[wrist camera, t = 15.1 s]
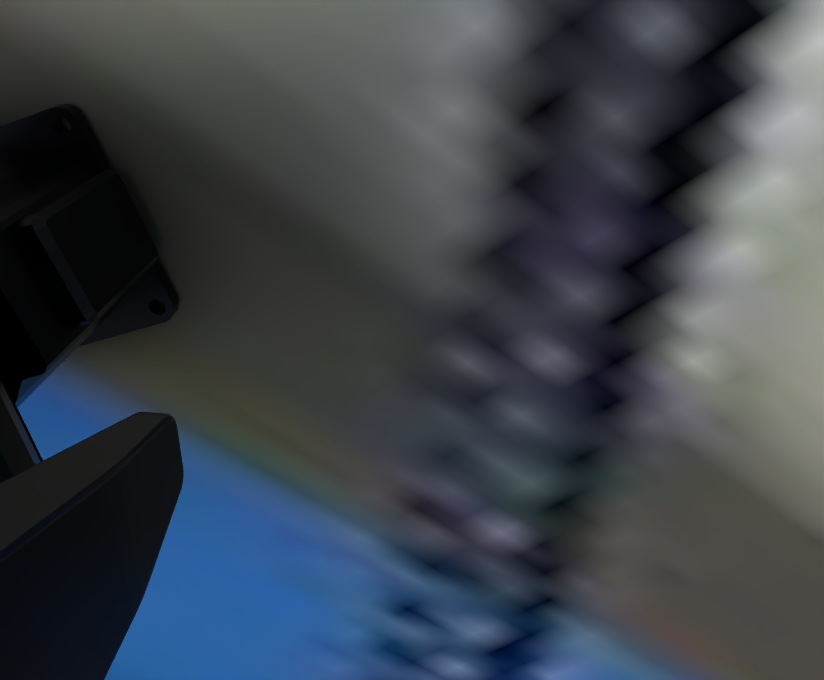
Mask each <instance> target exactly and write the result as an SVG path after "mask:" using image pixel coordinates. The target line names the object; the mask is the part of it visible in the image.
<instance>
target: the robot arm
mask: <svg viewBox="0 0 824 680" xmlns="http://www.w3.org/2000/svg"><path fill="white" fill-rule="evenodd" d="M60 117H63V118H65V119H67V120H68V122H69V123H70V126H71V131H70V132H67V131H65V130H64V129H63V128H62V126H61V124H60ZM157 256H158V251H157V249H156V247H155V245H154V243H153V241H152V239H151V237H150V235H149V233H148V231H147V229H146V227H145V225H144V223H143V221H142V219H141V217H140V215H139V213H138V211H137V210H136V208H135V206H134V204H133V202H132V200H131V198H130V196H129V194H128V192H127V190H126V188H125V186H124V184H123V182H122V180H121V178H120V176H119V175H118V174H117V173H115V172H113V171H112V169H111V167H110V165H109V164H108V162H107V160H106V158H105V156H104V154H103V152H102V150H101V148H100V146H99V144H98V142H97V140H96V138H95V136H94V134H93V132H92V130H91V128H90V126H89V125H88V123H87V121H86V119H85V117H84V115H83V114H82V113H81V111H80V110H78V109H77V108H76V107H74V106H72V105H69V104H61V105H57V106H55V107H52V108H49V109H47V110H44V111H41V112H39V113H36V114H33V115H31V116H28V117H25V118H22V119H20V120H17V121H14V122H12V123H9V124H6V125H4V126H1V127H0V680H104V679H105V677H106V675H107V673H108V670H109V668H110V666H111V664H112V662H113V660H114V658H115V656H116V654H117V652H118V650H119V648H120V646H121V644H122V641H123V639H124V637H125V635H126V633H127V631H128V629H129V627H130V625H131V623H132V621H133V619H134V617H135V614H136V612H137V610H138V608H139V605H140V603H141V601H142V599H143V596H144V594H145V591H146V588H147V586H148V583H149V580H150V578H151V575H152V572H153V569H154V566H155V563H156V560H157V557H158V555H159V552H160V549H161V546H162V543H163V540H164V537H165V534H166V532H167V529H168V526H169V523H170V520H171V517H172V514H173V511H174V509H175V506H176V503H177V500H178V497H179V494H180V491H181V488H182V483H183V464H182V457H181V450H180V443H179V436H178V430H177V424H176V422H175V419H174V418H173V417H172V416H171V415H170V414H163V413H151V412H138V413H135V414H133V415H131V416H129V417H127V418H126V419H124V420H122V421H120V422H118V423H116V424H114V425H112V426H110V427H108V428H106V429H104V430H102V431H100V432H98V433H96V434H94V435H92V436H91V437H89V438H87V439H85V440H83V441H81V442H79V443H77V444H75V445H73V446H71V447H69V448H67V449H65V450H63V451H61V452H59V453H57V454H56V455H54V456H52V457H50V458H48V459H46V460H44V461H43V459H42V457H41V455H40V453H39V451H38V449H37V447H36V445H35V443H34V441H33V439H32V437H31V435H30V433H29V431H28V429H27V427H26V425H25V423H24V421H23V419H22V417H21V415H20V413H19V411H18V409H17V407H18V406H19V405H20V404H21V403H22V402H23V401H24V400H25V399H26V398H27V397H28V396H29V395H30V394H31V393H32V392H33V391H34V390H35V389H36V388H37V387H38V386H39V385H40V384H41V383H42V382H43V381H44V380H45V379H46V378H47V377H48V376H49V375H50V374H51V373H52V372H53V371H54V370H55V369H56V368H57V367H58V366H59V365H60V364H61V363H62V362H63V361H64V360H65V359H66V358H67V357H68V356H69V355H70V354H71V353H72V352H73V351H74V350H75V349H76V348H77V347H78V346H81V345H85V344H88V343H92V342H95V341H99V340H103V339H106V338H110V337H113V336H117V335H120V334H124V333H127V332H131V331H134V330H138V329H142V328H145V327H149V326H152V325H156V324H159V323H163V322H166V321H168V320H169V319H171V317H172V316H173V315H174V314H175V312H176V311H177V310H178V305H179V302H178V299H177V296H176V294H175V292H174V290H173V288H172V286H171V284H170V282H169V281H168V279H167V277H166V275H165V273H164V271H163V269H162V267H161V265H160V263H159V261H158V259H157ZM154 299H158V300H160V301H162V302H163V303H164V305H165V308H166V309H161V308H159V307H157V305H156V304H155V302H154Z"/></svg>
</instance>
